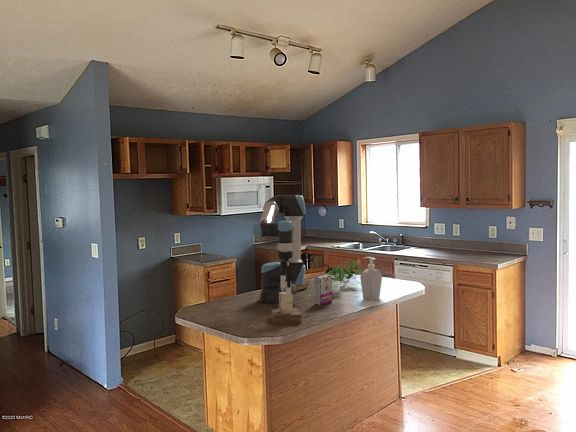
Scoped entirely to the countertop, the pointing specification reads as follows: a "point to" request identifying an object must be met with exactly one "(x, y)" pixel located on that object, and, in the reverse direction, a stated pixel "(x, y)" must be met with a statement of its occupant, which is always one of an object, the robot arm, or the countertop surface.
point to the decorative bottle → (298, 286)
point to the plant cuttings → (341, 273)
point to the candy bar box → (323, 289)
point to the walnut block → (285, 317)
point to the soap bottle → (371, 281)
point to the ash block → (285, 303)
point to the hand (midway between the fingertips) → (285, 290)
